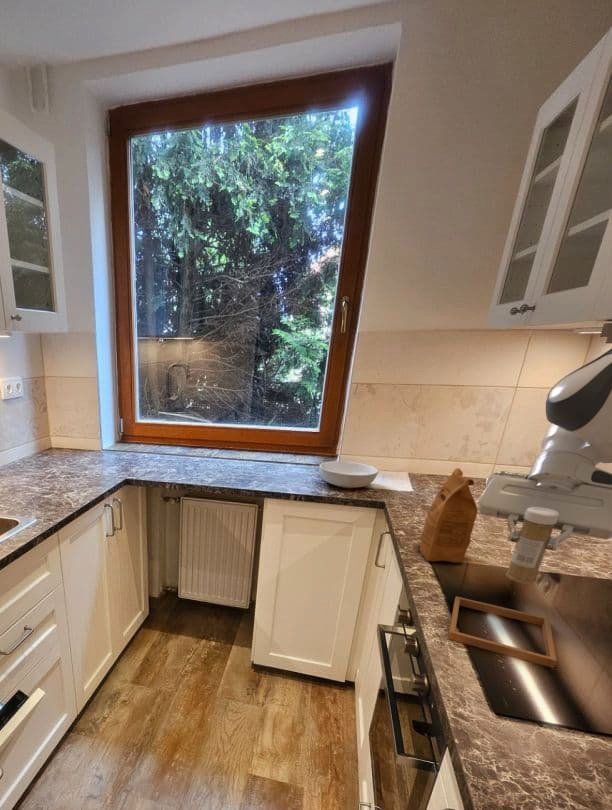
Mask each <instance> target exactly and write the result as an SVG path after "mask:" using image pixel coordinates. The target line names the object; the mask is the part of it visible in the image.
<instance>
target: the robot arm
mask: <svg viewBox="0 0 612 810" xmlns="http://www.w3.org/2000/svg"><path fill="white" fill-rule="evenodd" d="M545 416H546V420H547V421H548V422H549V423H550V425H549V426H548V428H547V430H546V432H545V433H544V435H543V439H542V441H541V445H540V447H541V448H540V449H541V450H540V452H539V453H538V454H537V456H536V457H535V458H534V461H533V463H532V466H531V467H530V470H529V473H528V474H525V473H521V472H520V473H519V472H509V471H505V470H501V471H499V472H494V473H491V474H489V476H488V477H487V478H486V481H485V484H484V486H485V489H484V490H483V492H482V494H481V496H480V497H479V498H478V499H479V500H478V504H477V509H478V512H479V513H480V514H481V515H483V516H487V517H493V518H498V519H503V520H507V521H506V522H507V523H506V526H507V528H508V530H509V531H508V532H509V534H508V537H507V541H509V542H513V543H517V541H518V538H519V534H520V532H521V529H517V528H516V526H517V524H518V523H522V524H523V523H524V519H525V518H524V516H525V513H526V510H527V508H529V507H544V508H549V509H552V510H555V511H557V512H558V513H559V517H558V520H557V523H556V524H555V525H554V527H553V530H557V531H560V534H559V535H558V536H555V537H553V536H550V538H549V541H548V543H547V546H546V550H549V551H553V552H557V550H558V546H559V544H561V543H563V542H564V541H566V540H567V539H569V538H570V537H571V535H572V533H573V534H577V535H581V536H582V535H583V536H588V537H591V538H592V537H593V538H596V539H597V538H598V539H602V540H609V539H611V538H612V472H608V471H606V470H604V469H601V468H598V467H596V466H597V465H598V464H600V463H601V464H612V348H611V347H610V349H609V350H607V351H606V352H604V353H602V354H601V355H600V356H598V357H597V358H595V359H593V360H592V361H590V362H588V363H586V364H584V365H582V366H580V367H579V368H577V369H575V370H573V371H572V372H570V373H569V374H567V375H565V376H564V377H563V378H561V379H560V380H559V381H558V382H557V383H556V384H554V385H553V387H551V388H550V390H549V392H548V393H547V396H546V401H545Z"/></svg>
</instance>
